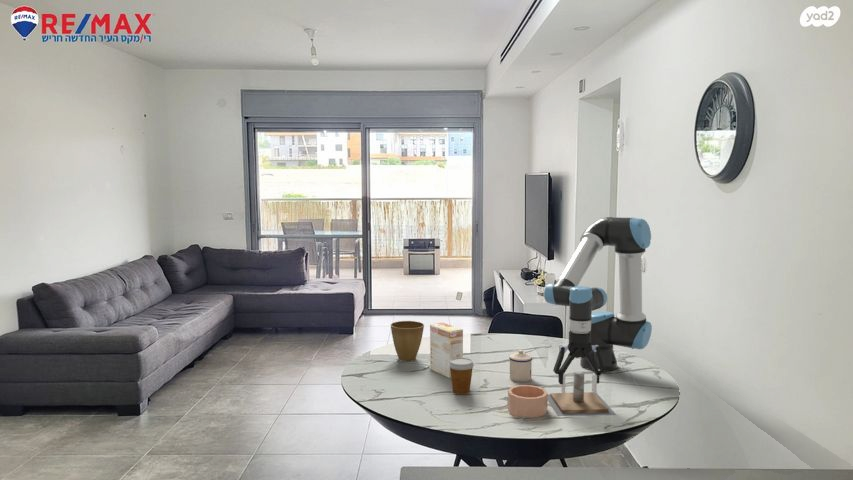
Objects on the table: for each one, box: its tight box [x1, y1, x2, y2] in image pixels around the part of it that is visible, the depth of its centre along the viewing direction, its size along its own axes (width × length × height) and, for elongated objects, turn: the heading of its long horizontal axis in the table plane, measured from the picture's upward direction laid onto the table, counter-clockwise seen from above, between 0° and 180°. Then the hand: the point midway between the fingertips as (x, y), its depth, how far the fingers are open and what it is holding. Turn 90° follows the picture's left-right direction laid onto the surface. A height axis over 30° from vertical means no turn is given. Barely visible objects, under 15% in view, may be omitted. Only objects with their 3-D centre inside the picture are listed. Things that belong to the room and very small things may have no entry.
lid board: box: [549, 371, 609, 413], centre depth 206 cm, size 16×16×11 cm
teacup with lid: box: [508, 349, 533, 383], centre depth 237 cm, size 12×9×12 cm
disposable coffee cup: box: [449, 357, 475, 395], centre depth 221 cm, size 10×10×12 cm
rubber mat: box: [548, 392, 617, 417], centre depth 207 cm, size 20×20×1 cm
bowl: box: [507, 384, 549, 418], centre depth 202 cm, size 13×13×7 cm
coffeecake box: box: [429, 322, 464, 379], centre depth 243 cm, size 15×7×20 cm, turn 32°
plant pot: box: [390, 320, 425, 363], centre depth 262 cm, size 15×15×16 cm
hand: (578, 392), depth 206 cm, fingers open, 10 cm apart
